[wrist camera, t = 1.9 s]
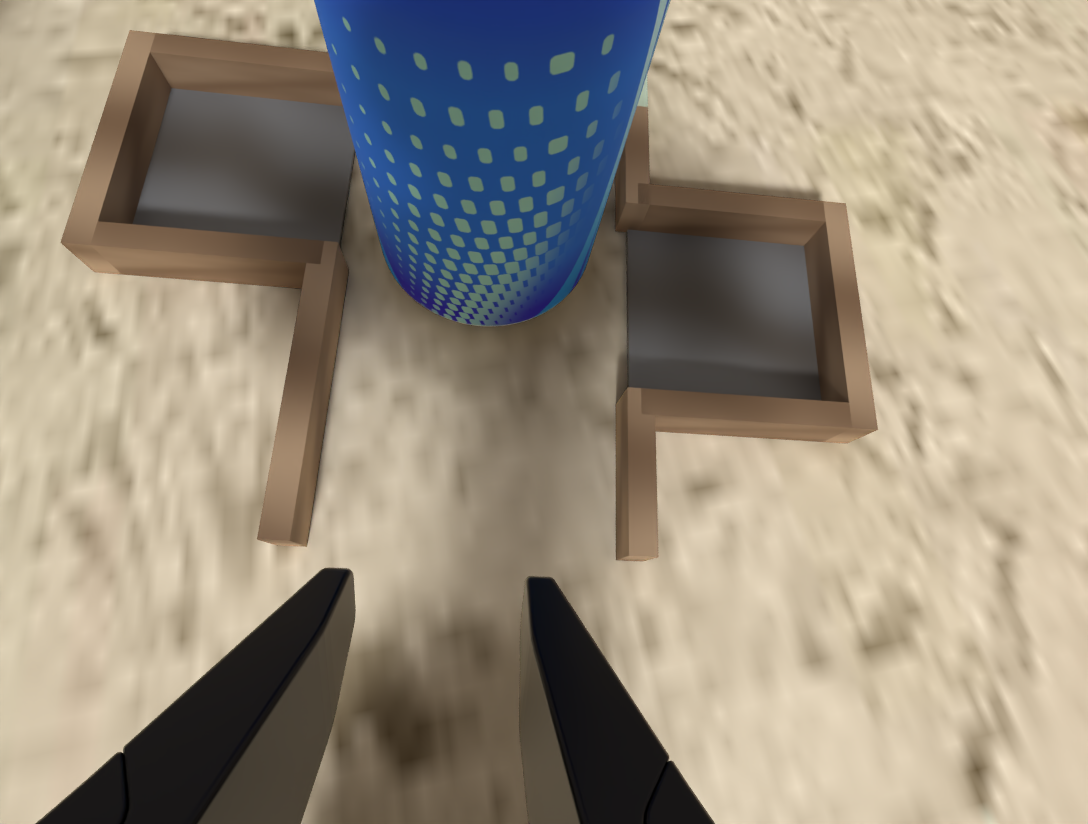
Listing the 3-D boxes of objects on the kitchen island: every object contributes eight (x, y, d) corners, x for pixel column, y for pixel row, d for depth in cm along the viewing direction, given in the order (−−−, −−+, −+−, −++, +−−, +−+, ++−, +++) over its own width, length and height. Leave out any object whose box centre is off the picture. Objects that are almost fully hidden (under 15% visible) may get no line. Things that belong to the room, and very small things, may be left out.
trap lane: (862, 570, 23) (938, 564, 19) (15, 533, 20) (-91, 517, 16) (793, 14, 32) (836, -66, 28) (194, -62, 29) (151, -162, 25)
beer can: (361, 317, 24) (158, -180, 9) (412, 149, 27) (325, -455, 11) (568, 359, 24) (716, -48, 9) (598, 189, 27) (752, -345, 12)
